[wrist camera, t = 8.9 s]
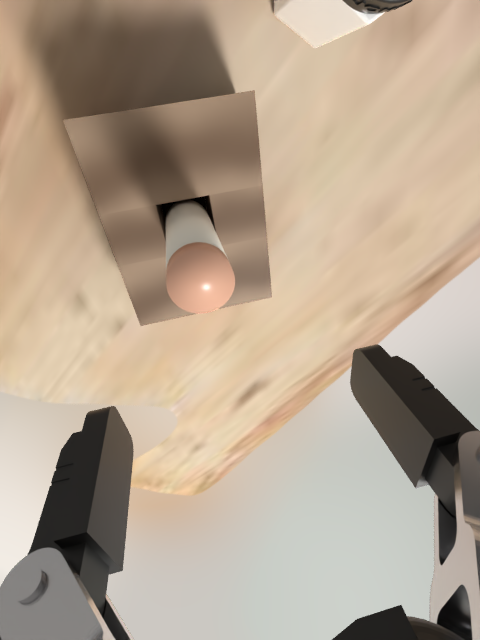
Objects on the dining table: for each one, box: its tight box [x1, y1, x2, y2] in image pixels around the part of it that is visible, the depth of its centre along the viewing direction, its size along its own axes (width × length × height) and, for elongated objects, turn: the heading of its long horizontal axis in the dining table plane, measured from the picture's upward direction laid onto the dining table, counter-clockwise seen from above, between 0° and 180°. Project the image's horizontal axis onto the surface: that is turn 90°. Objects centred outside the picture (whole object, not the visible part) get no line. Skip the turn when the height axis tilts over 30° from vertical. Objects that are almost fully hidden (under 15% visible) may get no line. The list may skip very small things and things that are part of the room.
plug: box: [166, 200, 235, 313], centre depth 24 cm, size 4×4×13 cm
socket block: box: [63, 90, 272, 326], centre depth 31 cm, size 18×14×7 cm
